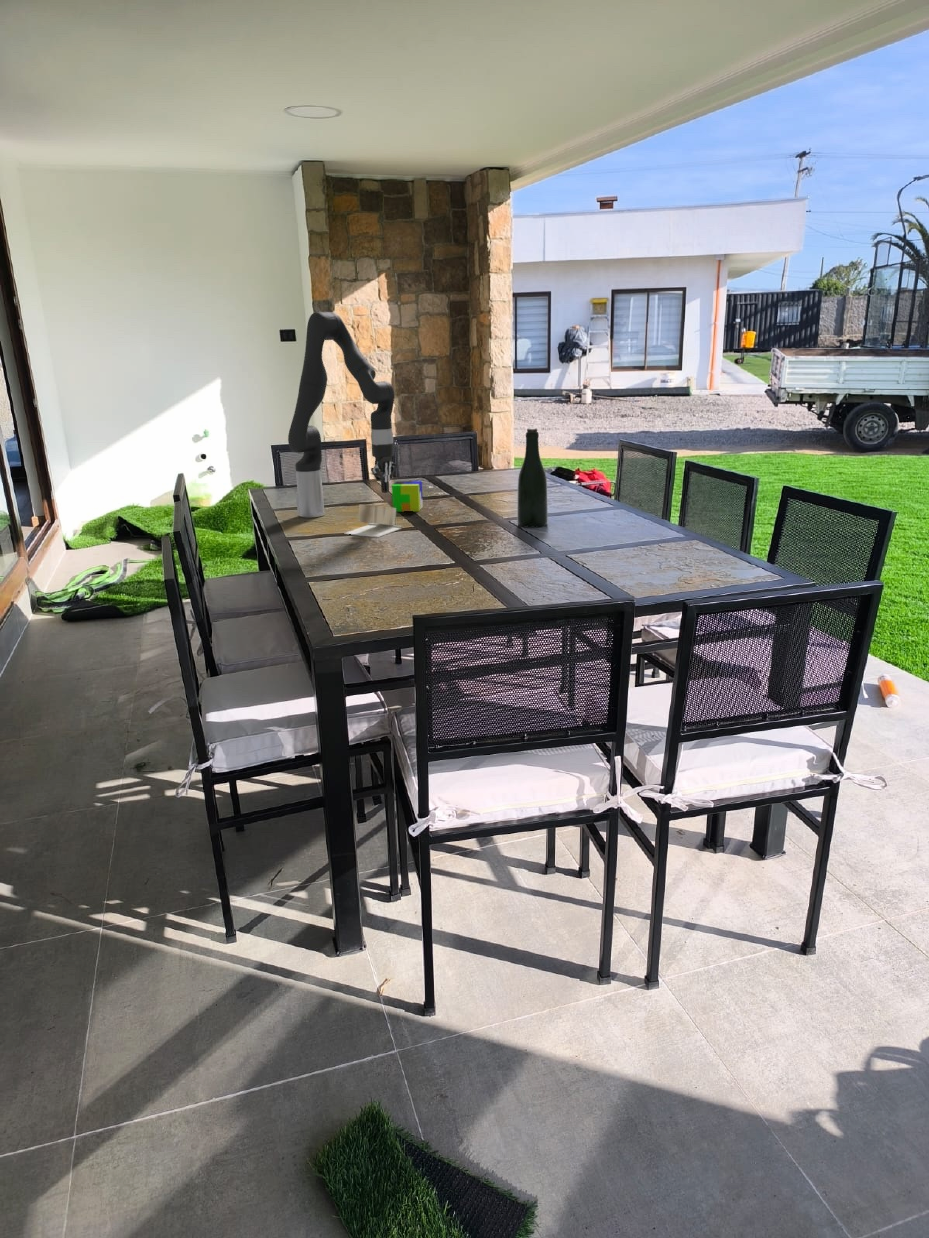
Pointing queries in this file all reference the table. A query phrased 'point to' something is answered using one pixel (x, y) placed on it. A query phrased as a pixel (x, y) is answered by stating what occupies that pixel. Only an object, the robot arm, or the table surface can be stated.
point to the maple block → (377, 514)
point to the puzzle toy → (407, 495)
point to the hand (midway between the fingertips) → (385, 492)
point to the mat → (374, 530)
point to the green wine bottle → (532, 486)
